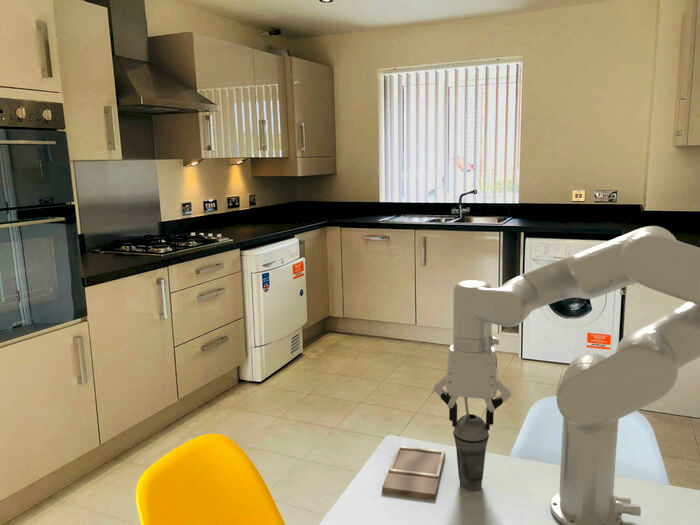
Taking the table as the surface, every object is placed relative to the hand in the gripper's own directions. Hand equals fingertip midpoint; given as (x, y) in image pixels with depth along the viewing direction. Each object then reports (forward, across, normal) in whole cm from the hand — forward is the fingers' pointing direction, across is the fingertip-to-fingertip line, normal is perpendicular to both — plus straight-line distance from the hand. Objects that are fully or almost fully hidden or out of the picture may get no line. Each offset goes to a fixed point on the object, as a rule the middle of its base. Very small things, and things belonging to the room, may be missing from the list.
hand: (471, 424), depth 121 cm
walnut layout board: (+14, +12, -2) cm, 18 cm away
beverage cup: (+14, 0, 0) cm, 14 cm away
